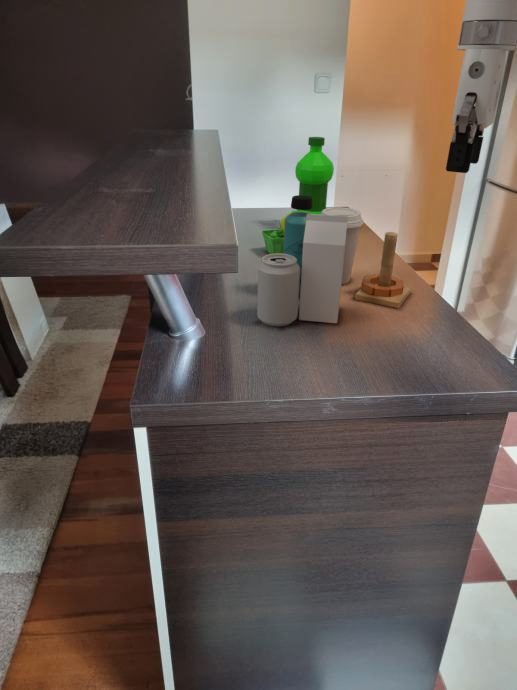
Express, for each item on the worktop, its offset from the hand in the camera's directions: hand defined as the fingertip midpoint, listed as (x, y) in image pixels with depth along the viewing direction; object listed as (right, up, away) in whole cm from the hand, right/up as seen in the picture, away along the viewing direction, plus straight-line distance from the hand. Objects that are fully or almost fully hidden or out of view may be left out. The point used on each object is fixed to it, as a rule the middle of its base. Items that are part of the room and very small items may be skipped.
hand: (462, 167), depth 79 cm
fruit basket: (-24, -5, +51) cm, 56 cm away
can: (-28, -23, +16) cm, 40 cm away
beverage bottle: (-24, -17, +27) cm, 40 cm away
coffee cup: (-14, -13, +35) cm, 40 cm away
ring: (-6, -16, +27) cm, 32 cm away
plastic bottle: (-16, +5, +69) cm, 71 cm away
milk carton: (-20, -22, +19) cm, 35 cm away
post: (-6, -17, +27) cm, 33 cm away
